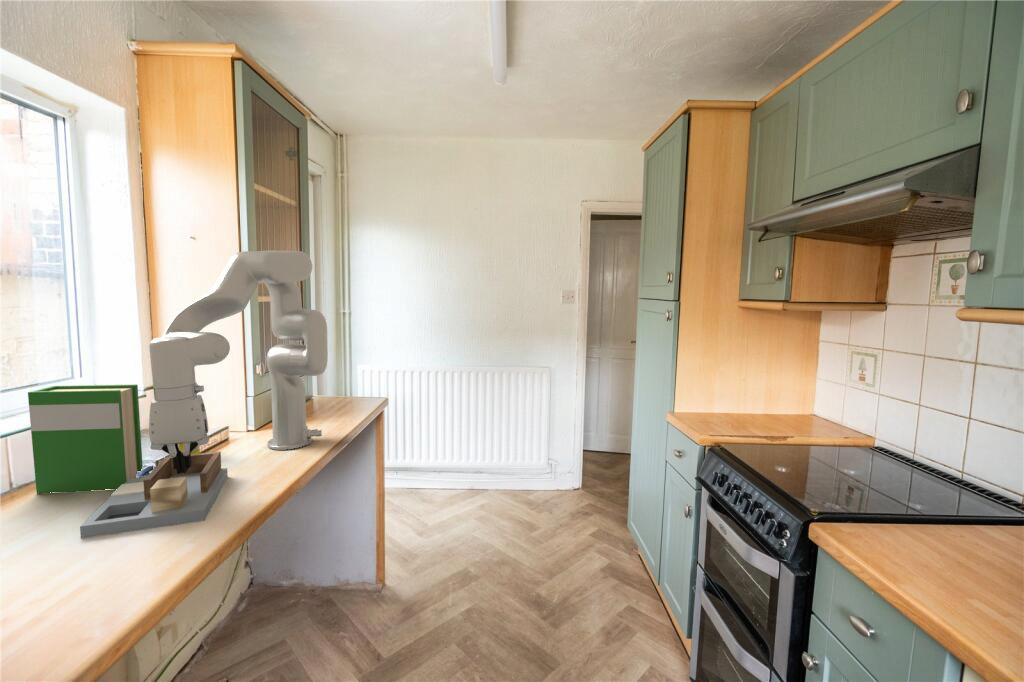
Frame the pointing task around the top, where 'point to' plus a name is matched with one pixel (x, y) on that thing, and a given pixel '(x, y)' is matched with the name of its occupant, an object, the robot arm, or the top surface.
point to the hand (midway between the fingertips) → (183, 470)
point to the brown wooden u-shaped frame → (199, 463)
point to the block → (168, 494)
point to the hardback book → (85, 437)
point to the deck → (135, 512)
